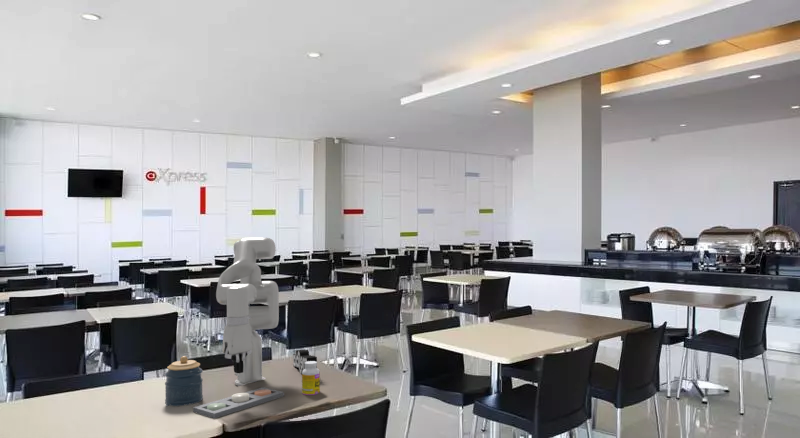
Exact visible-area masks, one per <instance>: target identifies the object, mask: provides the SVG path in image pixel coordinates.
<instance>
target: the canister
mask: <svg viewBox="0 0 800 438" xmlns="http://www.w3.org/2000/svg"><path fill="white" fill-rule="evenodd" d="M200 366H201V363H200V362H197V360H194V359H189V358H188V357H187V356H186V355H183V356H181V357H180V359H179V360H178V361H174V362H171V364H169V365H168V366H167V371H166V372H165V373H164V375H165V377H166V380H165V382H164V385H165V398H164V401H165V403H164V404H165V407H168V406H172V407H179V406H181V407H182V406H189V405H194V404H197V403H200V402H201V401H203V399H204V395H203V382H204V381H203V380H204V379H203V377H202V373H203V371H204V370H203V369H202V368H201V367H200Z"/></svg>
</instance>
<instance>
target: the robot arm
mask: <svg viewBox="0 0 800 438" xmlns="http://www.w3.org/2000/svg"><path fill="white" fill-rule="evenodd" d="M276 252H277V251H276V244H275V241H274V240H273V239H272V238H269V237H244V238H241V239H239V240H237V241H235V243H234V244H233V253H234V258H233V263H232V264H231V265H230V266H228V267H227V268H226V269H225V270H224V271H223V272H221V274H220V275H219V278H218V281H217V286H216V292H215V297H216V301H217V303H219V304H220V305H224V306H225V305H226V325H225V326H224V329H223V333H222V335H223V336H222V350H221V351H222V353H223V354H224V358H225V359H230V360H231V362H233V372H234V376H237V379H235V380H234V385H236V386H238V387H241V386H245V385H249V384H251V383H252V384H253V383H257V382H260V381H263V380H266V379H267V378H266V377H265V376H263V353H262V352H263V349H262V347H263V345H262V344H263V343H262V342H263V341H262V338H261V336H260V334H259V333H258V332H257V330H269V329H275V328H277V327H278V325H279V321H280V320H279V319H280V317H279V315H280V314H279V313H280V308H279V307H280V305H279V304H280V294H279V293H280V292H279V286H278V284H277V282H276V281H273V280H262V269H261V267H260V266H259V265H258V264H257V260H272V259H273V258H274V257H275V255H276ZM236 281H240V282H239V283H234V282H236ZM250 304H251V306H249V305H250ZM253 304H254V305H253ZM255 304H256V306H255ZM257 304H266V305H263V306H262V305H261V306H257ZM252 305H253V306H252Z"/></svg>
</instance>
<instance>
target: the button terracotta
mask: <svg viewBox="0 0 800 438" xmlns="http://www.w3.org/2000/svg"><path fill="white" fill-rule="evenodd" d="M268 394H271V390H266V389H265V390H258V391H255V392H254V395H257V396H261V397H262V396H265V395H268Z"/></svg>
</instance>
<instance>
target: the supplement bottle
mask: <svg viewBox="0 0 800 438" xmlns="http://www.w3.org/2000/svg"><path fill="white" fill-rule="evenodd" d="M316 366H317V368H316ZM320 381H321V379H320V369H319V368H318V361H317V362H316V361H308V362H305V369H304V370H303V371H302V374H301V385H302V386H301V393H302V394H303V395H304V396H315V395H318V394H320V393H321V384H320Z"/></svg>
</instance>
